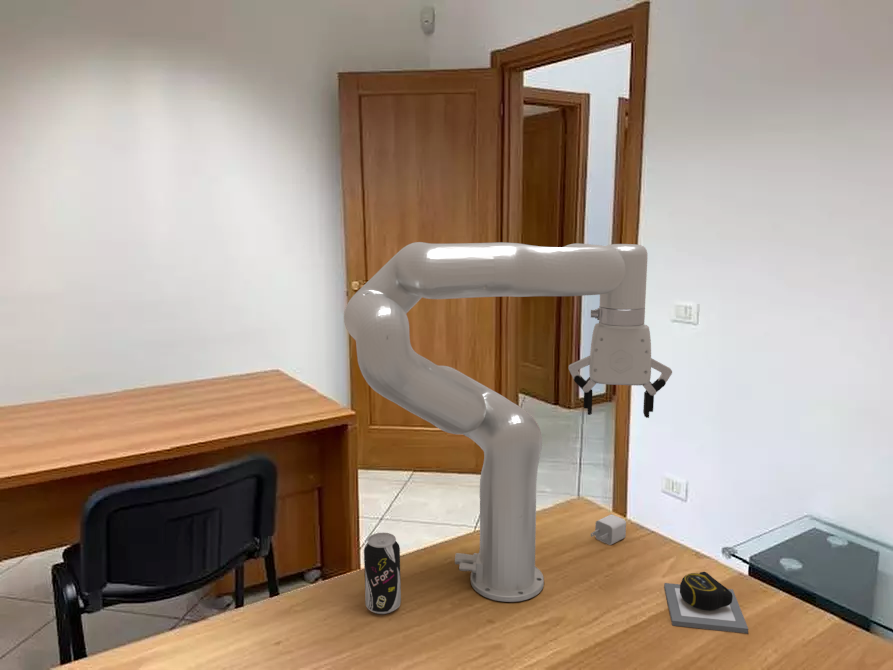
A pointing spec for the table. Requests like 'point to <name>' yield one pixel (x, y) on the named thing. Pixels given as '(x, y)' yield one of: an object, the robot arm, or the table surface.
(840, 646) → the table surface
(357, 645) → the table surface
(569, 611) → the table surface
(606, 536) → the usb wall charger
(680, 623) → the coaster
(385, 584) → the beverage can
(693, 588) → the tape measure
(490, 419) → the robot arm
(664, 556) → the table surface
